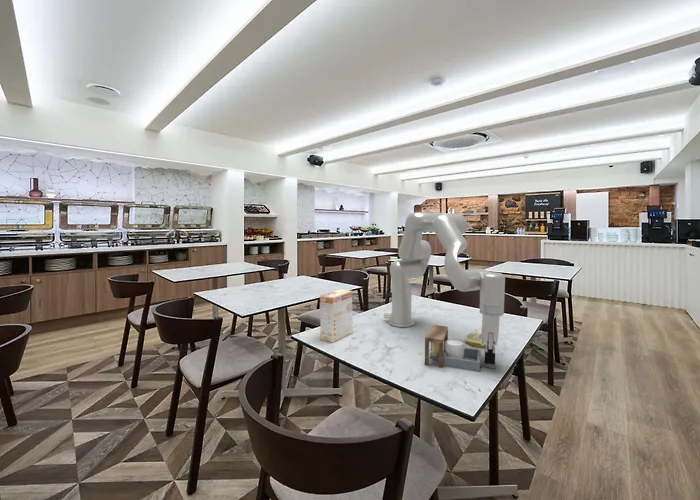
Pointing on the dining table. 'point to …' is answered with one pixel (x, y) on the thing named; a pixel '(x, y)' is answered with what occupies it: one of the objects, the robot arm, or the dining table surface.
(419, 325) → the dining table surface
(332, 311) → the coffeecake box
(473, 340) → the decorated donut
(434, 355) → the slider
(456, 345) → the white cylinder
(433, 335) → the tunnel
